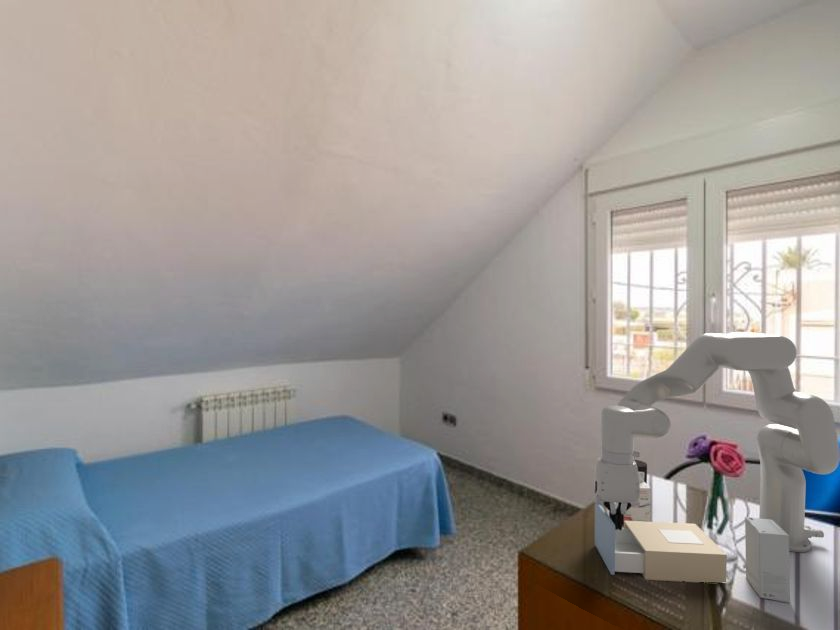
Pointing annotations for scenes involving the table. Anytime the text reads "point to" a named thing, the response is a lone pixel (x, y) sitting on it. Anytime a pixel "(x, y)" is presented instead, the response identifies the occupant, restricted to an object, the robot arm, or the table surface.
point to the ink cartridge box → (645, 501)
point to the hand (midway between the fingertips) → (616, 527)
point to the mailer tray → (617, 545)
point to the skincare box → (767, 559)
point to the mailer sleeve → (678, 552)
